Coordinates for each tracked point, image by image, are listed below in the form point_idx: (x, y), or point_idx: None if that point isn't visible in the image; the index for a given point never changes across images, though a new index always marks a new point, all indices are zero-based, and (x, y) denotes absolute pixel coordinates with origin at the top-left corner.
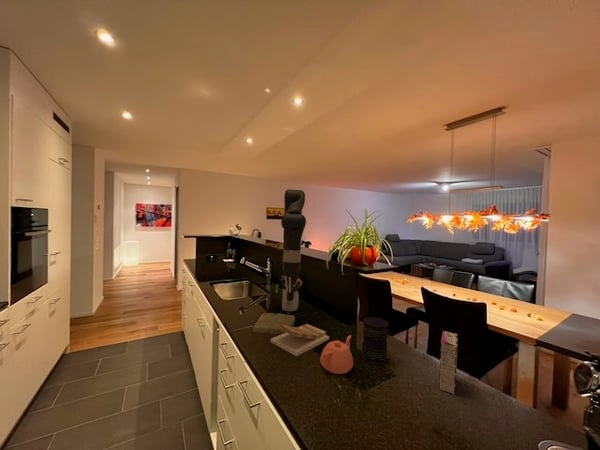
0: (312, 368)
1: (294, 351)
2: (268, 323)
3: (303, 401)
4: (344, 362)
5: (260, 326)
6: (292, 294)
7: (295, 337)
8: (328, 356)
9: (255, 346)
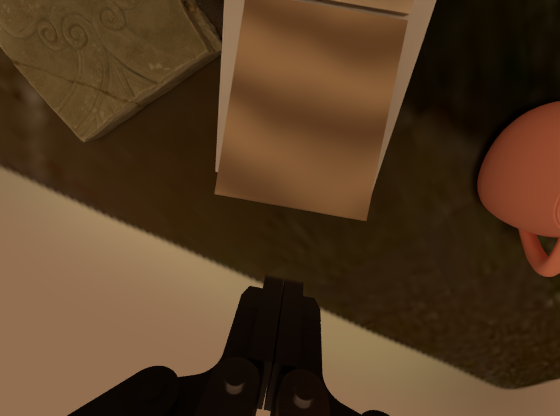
0: (450, 223)
1: None
2: (88, 66)
3: (469, 333)
4: None
5: (94, 120)
6: (310, 366)
7: None
8: (547, 236)
9: (204, 221)
